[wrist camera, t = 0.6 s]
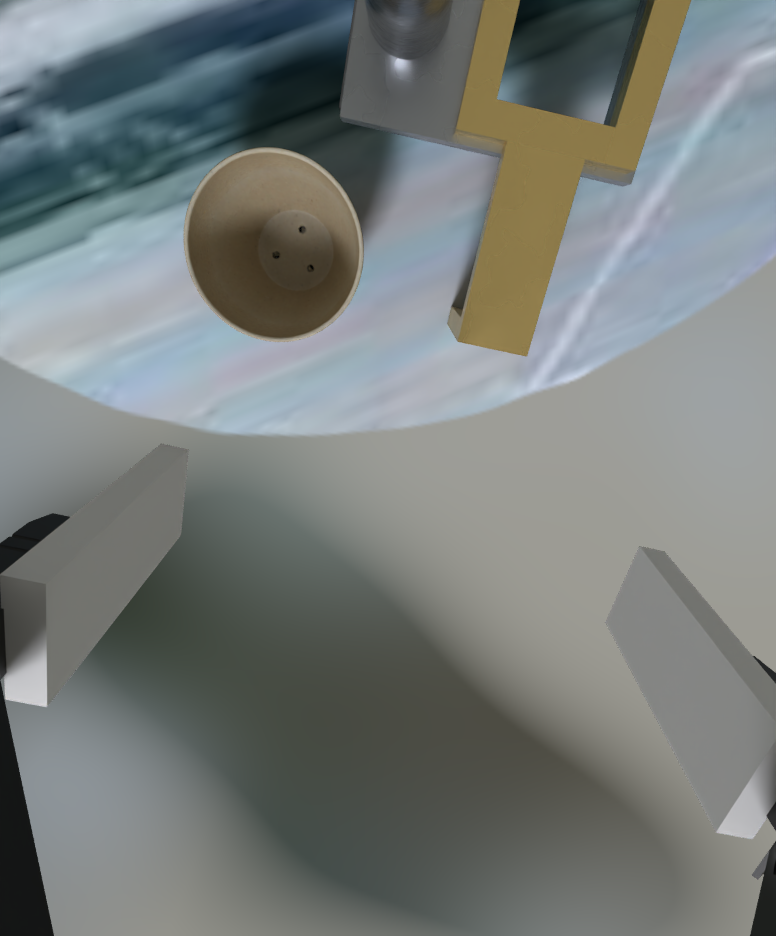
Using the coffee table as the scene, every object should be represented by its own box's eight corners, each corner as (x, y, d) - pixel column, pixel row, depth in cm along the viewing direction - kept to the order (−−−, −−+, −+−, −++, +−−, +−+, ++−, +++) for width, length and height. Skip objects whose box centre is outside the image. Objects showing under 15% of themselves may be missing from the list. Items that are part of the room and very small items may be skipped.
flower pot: (380, 179, 36) (375, 163, 29) (360, 336, 39) (351, 354, 33) (225, 154, 36) (183, 132, 29) (219, 314, 39) (181, 327, 33)
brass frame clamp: (366, -62, 32) (294, -649, 11) (647, 7, 32) (1070, -418, 12) (312, 294, 39) (207, 343, 18) (544, 345, 39) (697, 446, 19)
